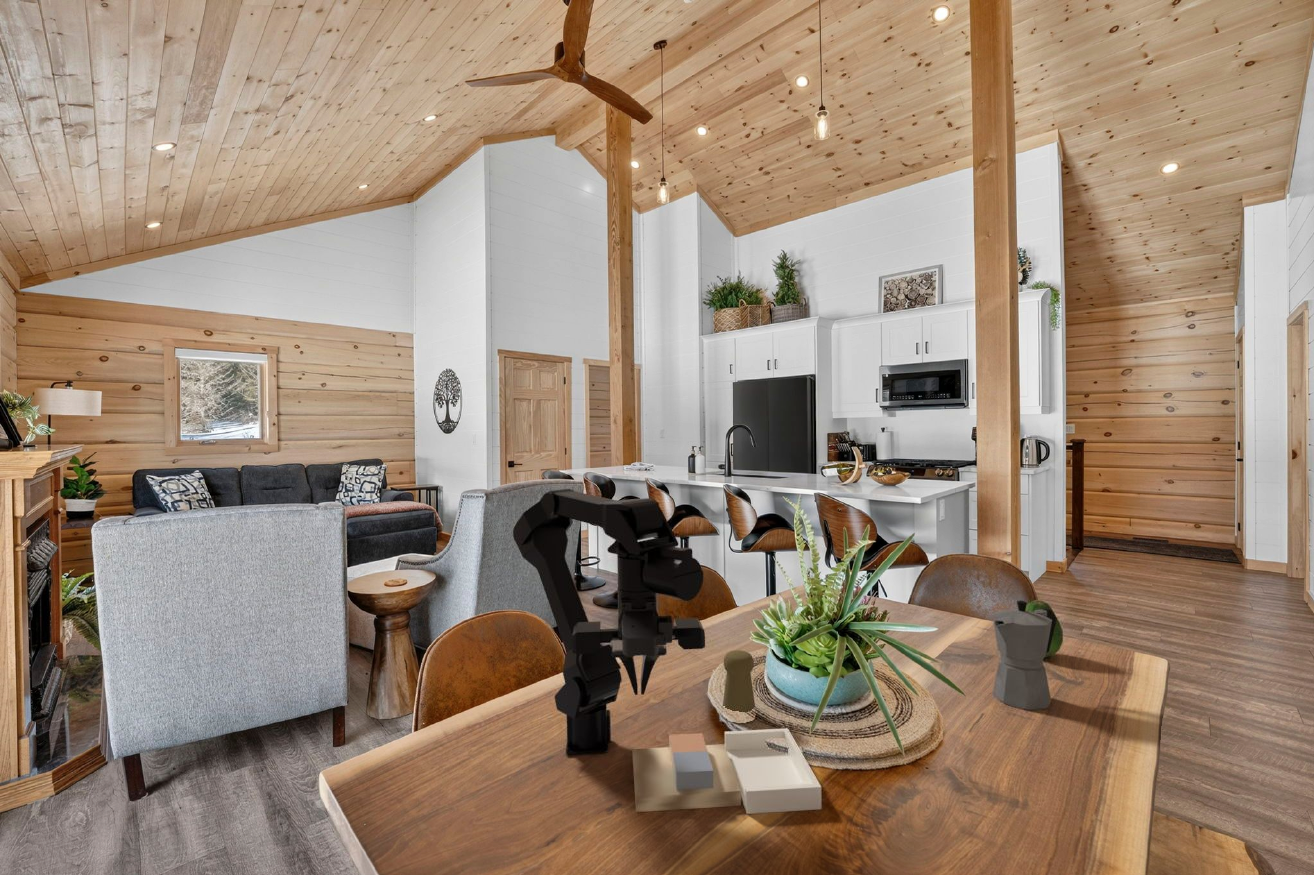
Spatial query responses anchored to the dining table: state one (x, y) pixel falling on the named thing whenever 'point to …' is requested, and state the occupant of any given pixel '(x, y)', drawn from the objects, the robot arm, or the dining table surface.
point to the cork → (738, 681)
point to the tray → (771, 773)
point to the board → (660, 789)
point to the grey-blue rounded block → (692, 770)
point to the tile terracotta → (686, 743)
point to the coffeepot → (1023, 656)
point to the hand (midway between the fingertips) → (639, 693)
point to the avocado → (1058, 631)
